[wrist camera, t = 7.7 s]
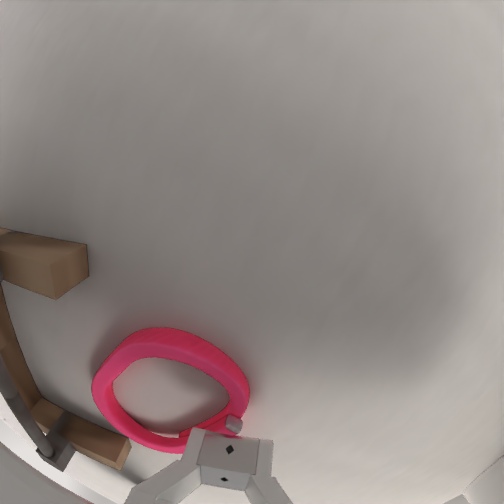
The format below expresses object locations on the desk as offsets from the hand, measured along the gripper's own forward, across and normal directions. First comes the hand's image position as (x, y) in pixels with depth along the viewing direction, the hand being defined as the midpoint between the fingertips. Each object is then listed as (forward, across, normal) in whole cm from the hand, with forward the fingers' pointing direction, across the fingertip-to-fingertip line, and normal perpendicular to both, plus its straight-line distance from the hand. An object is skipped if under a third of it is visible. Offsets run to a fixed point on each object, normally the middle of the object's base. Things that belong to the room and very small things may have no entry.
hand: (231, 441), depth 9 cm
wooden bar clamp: (+2, +9, 0) cm, 9 cm away
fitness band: (+2, +3, 0) cm, 4 cm away
